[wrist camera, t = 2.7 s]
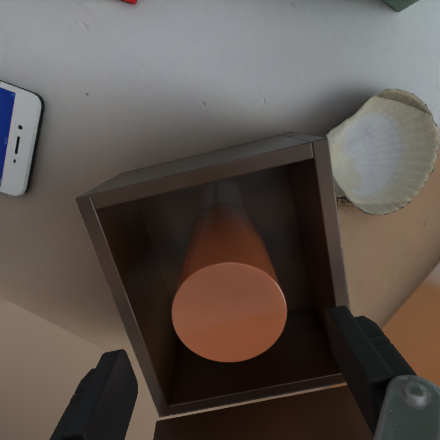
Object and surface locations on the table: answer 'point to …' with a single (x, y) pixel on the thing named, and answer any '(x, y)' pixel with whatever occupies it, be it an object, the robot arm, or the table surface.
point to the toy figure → (131, 1)
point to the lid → (275, 420)
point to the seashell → (384, 152)
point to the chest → (175, 250)
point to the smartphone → (18, 136)
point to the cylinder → (227, 288)
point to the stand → (400, 4)
